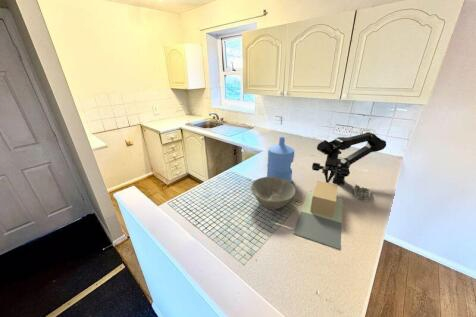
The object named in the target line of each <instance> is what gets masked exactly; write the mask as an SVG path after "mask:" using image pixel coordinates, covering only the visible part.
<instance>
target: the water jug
mask: <svg viewBox="0 0 476 317" xmlns="http://www.w3.org/2000/svg"><path fill="white" fill-rule="evenodd" d="M285 140H286V137H283V136H281V137H279V142H278V143H277V144H275V145H271V146H269V148H268V149H267V164H266V166H267V169H266V170H267V171H266V177H277V178H282V179H285V180H287V181H289V182H290V183H291V182H292V180H293V169H292V167H291V166H292V164H293V162H294V160H295V159H294V158H295V149H294V148H293V147H291V146H290V145H287V144H285V142H286V141H285Z"/></svg>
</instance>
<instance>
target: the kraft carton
mask: <svg viewBox="0 0 476 317" xmlns="http://www.w3.org/2000/svg"><path fill="white" fill-rule="evenodd" d="M338 185H339V184H337V183H330V182H329V183H326V181H320V180H317V181H316V183H315V187H314V191H313V192H314V193H313V197H312V203H311V209H310V211H311V212H315V213H318V214H322V215H325V216H329V217H333V213H334V208H335V204H336V198H338V197H337V196H338Z"/></svg>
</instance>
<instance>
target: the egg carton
mask: <svg viewBox="0 0 476 317" xmlns="http://www.w3.org/2000/svg"><path fill="white" fill-rule="evenodd" d="M358 192H359V194H358ZM353 194H354V195H353V197H354V198H356V199H357V200H359V199H361V200H363V201H366V202H369V200H370V197H371V189H370V188H367V187H366V188H364V187H360V185H359V184H358V185H357V184H355V187H354V188H353ZM357 194H358V195H357Z"/></svg>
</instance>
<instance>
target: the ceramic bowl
mask: <svg viewBox="0 0 476 317" xmlns="http://www.w3.org/2000/svg"><path fill="white" fill-rule="evenodd" d="M250 190H251V193H252V195H254V197H255V199H256V200H257V202H258V204H259V206H260V205H261V206H262V207H263V208H265V209H268V210H278V209H280V208H282V207H284V206H286V205H287V204H288V203H289V202H290V201H291V200H292V199H293V198H294V196H295V194H296V187H295V186H294V184H293V183H291V182H289V181H287V180H285V179H282V178H277V177H267V176H265V177H260V178H257V179H255V180H253V182H252V183H251V185H250Z"/></svg>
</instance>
